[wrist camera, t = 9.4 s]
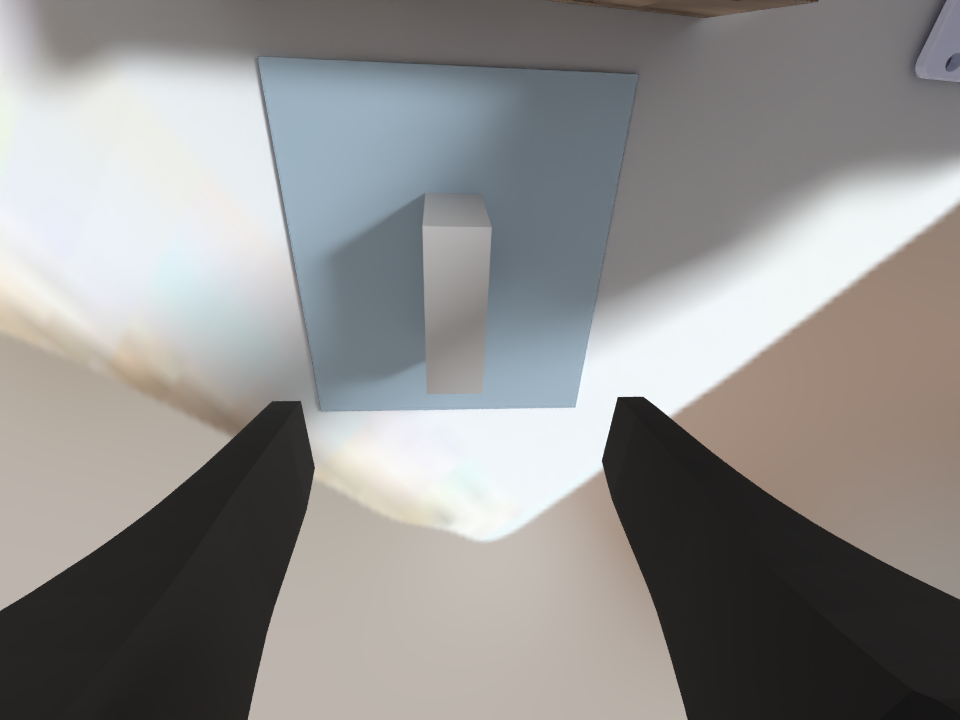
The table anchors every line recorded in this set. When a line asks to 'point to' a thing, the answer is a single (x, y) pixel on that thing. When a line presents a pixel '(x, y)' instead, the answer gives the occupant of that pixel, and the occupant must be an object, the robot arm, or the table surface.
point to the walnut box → (692, 5)
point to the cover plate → (380, 217)
